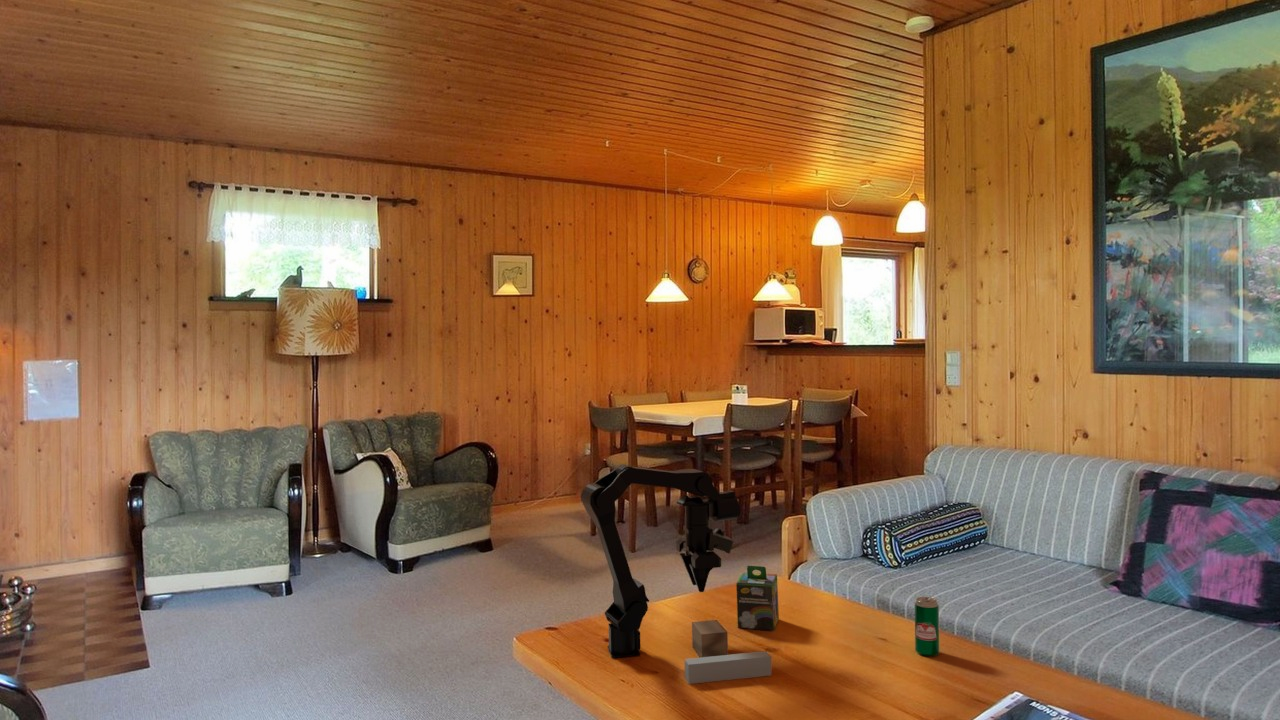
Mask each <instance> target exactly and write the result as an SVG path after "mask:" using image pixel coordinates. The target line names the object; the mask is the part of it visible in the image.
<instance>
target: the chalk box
mask: <svg viewBox="0 0 1280 720" xmlns="http://www.w3.org/2000/svg"><path fill="white" fill-rule="evenodd" d="M746 571H747V572H743V573H742V574H741V575H740V576H739V578H738V580H737V582H736V585H735V587H736V614H737V615H736V616H737V628H738V629H739V628H740V629H750V630H751V629H752V630H760V631H767V632H768V631H769V632H774V631H775V628H776V626H777V624H778V621H779V618H780V615H779V592H778V591H779V587H778V586H779V585H778V584H779V583H778V574H777V573H775V574H774V573H767V568H766V566H761V565H747V567H746ZM754 571H758V572H756V573H755V572H754ZM759 572H760V573H759Z"/></svg>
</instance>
